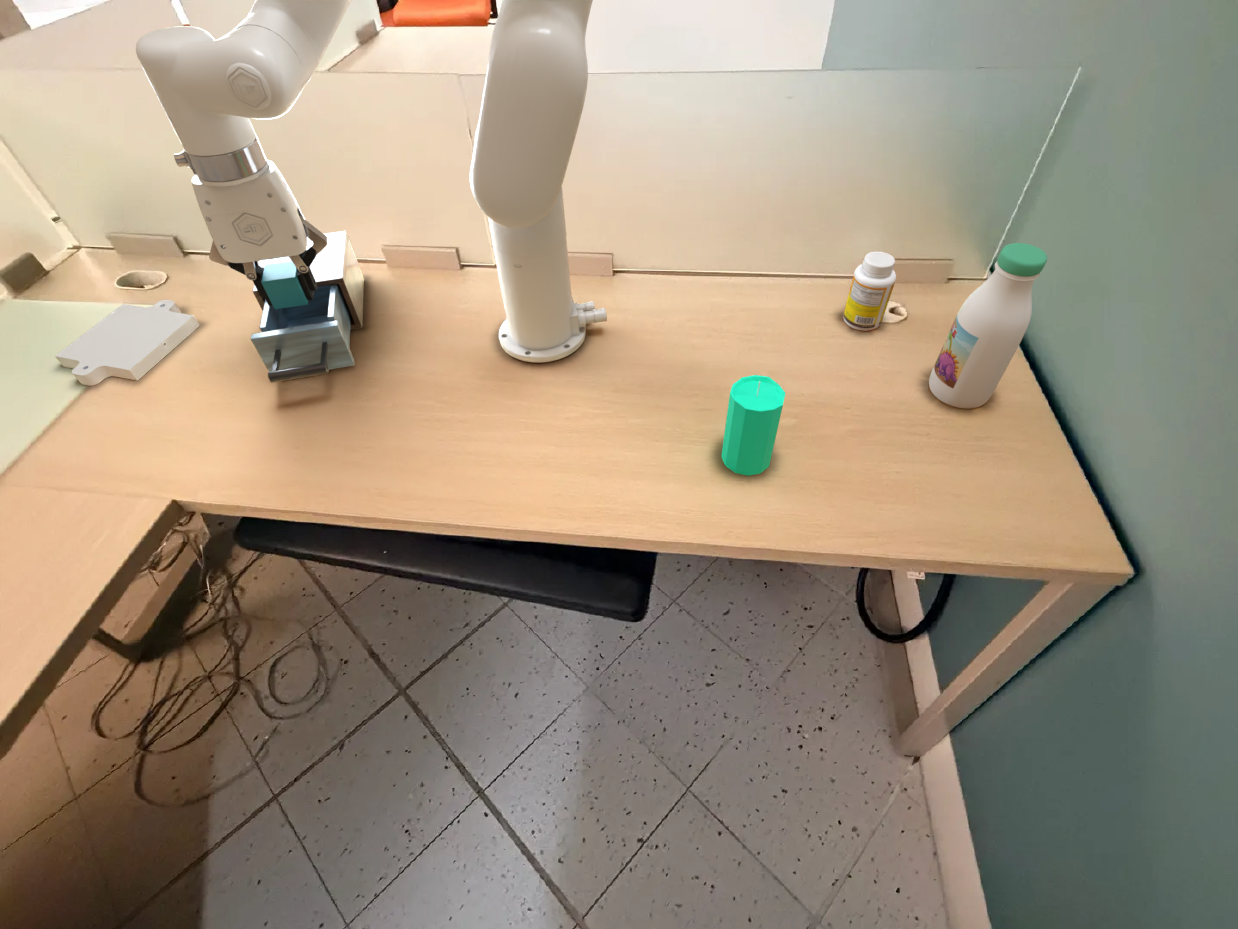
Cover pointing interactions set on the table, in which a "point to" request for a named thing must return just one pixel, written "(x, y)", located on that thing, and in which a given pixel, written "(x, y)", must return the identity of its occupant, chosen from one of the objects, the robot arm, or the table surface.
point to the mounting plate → (127, 342)
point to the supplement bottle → (870, 291)
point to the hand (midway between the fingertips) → (291, 296)
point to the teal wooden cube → (283, 285)
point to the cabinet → (334, 273)
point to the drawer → (306, 336)
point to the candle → (752, 424)
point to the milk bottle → (988, 330)
